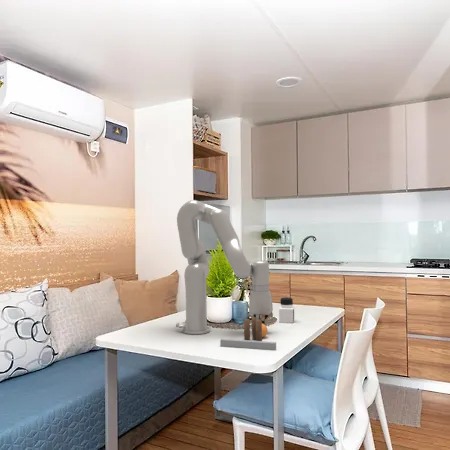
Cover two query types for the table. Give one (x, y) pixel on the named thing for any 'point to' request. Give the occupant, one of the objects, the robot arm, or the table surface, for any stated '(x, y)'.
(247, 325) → the back pin left
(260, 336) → the back pin right
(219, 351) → the table surface
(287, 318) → the medicine bottle
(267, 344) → the stopper rail
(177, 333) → the table surface
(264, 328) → the ball
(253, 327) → the front pin
